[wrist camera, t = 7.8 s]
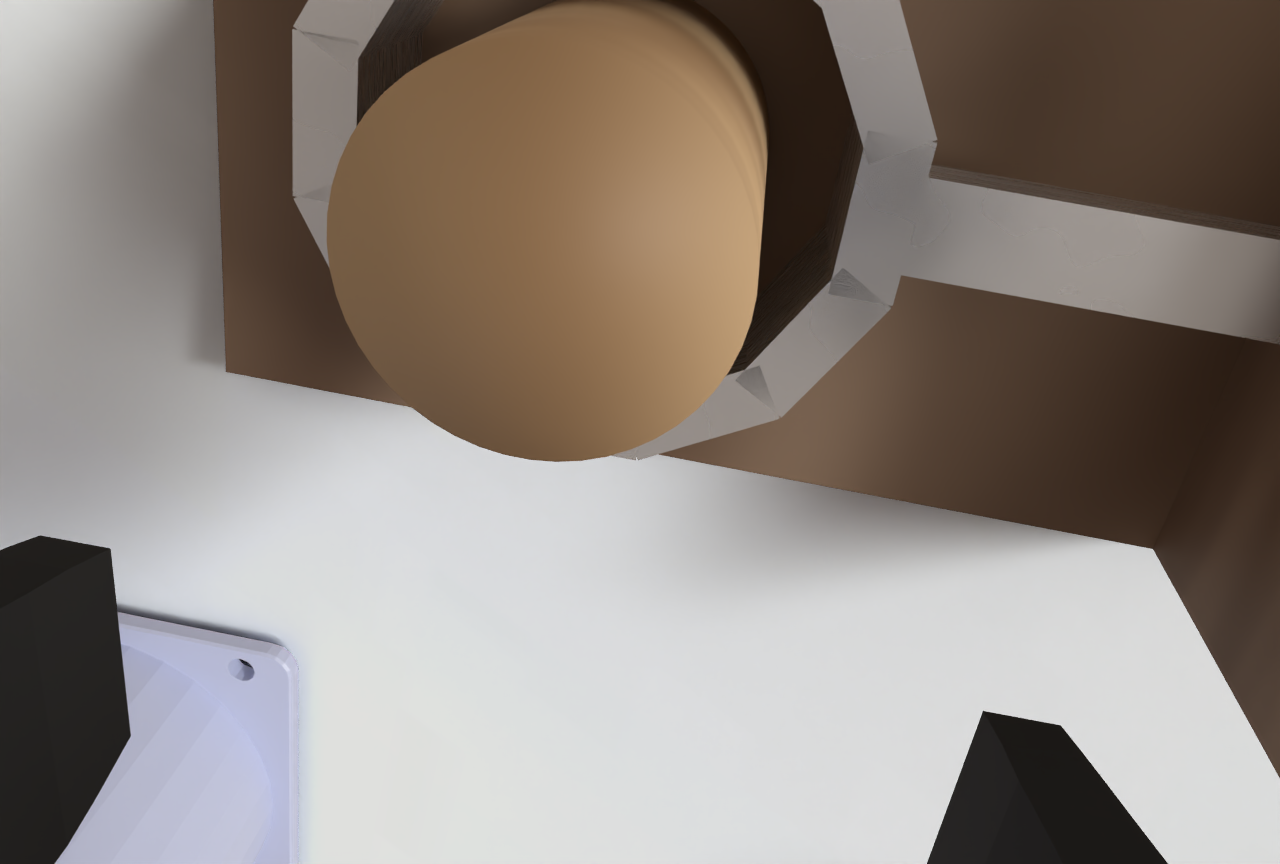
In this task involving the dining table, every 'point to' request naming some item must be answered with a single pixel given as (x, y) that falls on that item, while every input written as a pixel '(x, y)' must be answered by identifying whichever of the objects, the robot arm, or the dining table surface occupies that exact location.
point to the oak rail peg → (558, 226)
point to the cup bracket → (906, 262)
